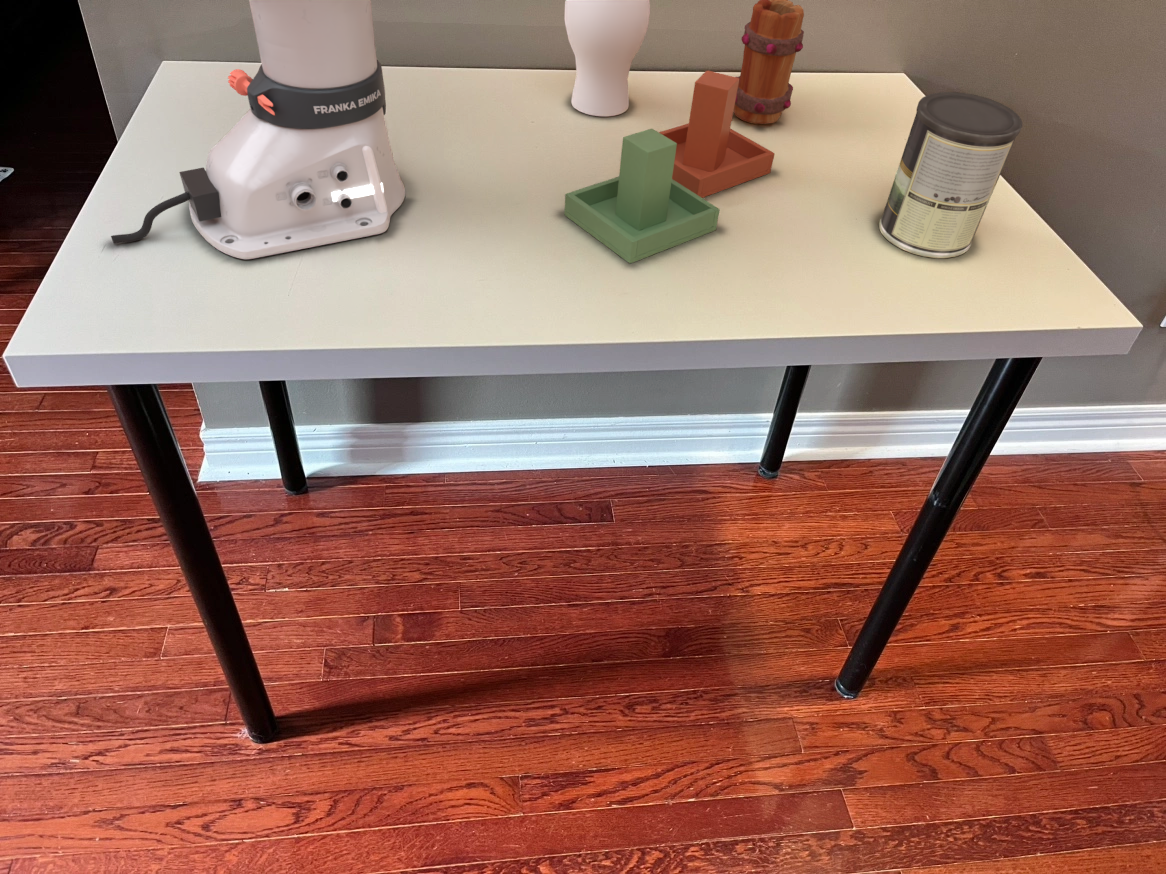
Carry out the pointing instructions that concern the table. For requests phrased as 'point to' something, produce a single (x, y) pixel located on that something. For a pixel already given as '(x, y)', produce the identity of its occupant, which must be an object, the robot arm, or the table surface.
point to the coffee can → (948, 173)
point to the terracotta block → (710, 120)
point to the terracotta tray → (735, 169)
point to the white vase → (604, 51)
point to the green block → (645, 178)
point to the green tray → (682, 224)
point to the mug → (768, 61)
